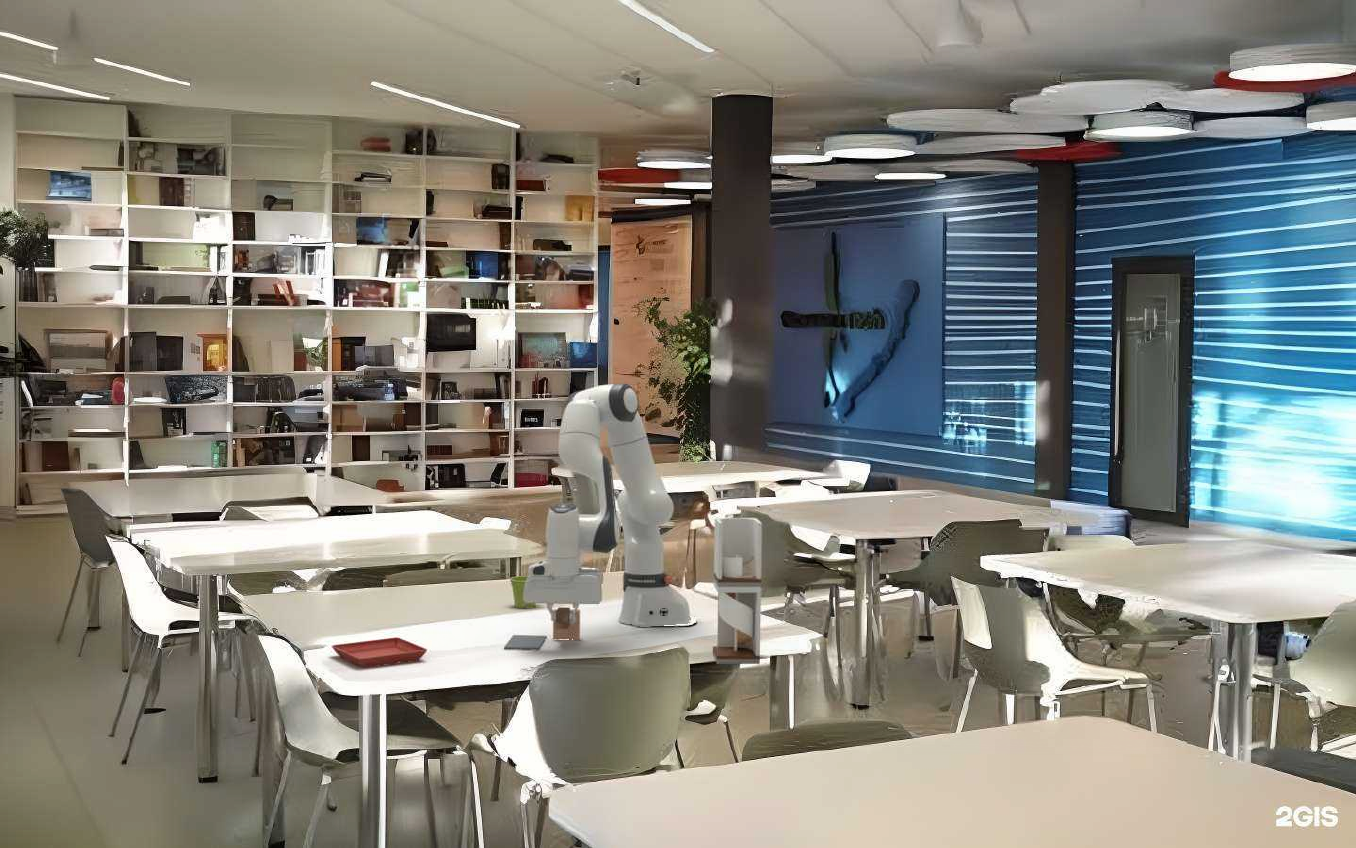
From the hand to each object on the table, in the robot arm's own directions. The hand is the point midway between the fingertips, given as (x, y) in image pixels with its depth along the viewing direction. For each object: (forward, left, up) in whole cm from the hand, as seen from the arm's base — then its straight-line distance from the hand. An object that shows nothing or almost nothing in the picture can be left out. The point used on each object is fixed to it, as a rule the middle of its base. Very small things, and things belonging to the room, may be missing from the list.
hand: (562, 620), depth 355 cm
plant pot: (+18, -60, -8) cm, 64 cm away
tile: (0, -12, -7) cm, 14 cm away
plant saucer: (+44, +16, -8) cm, 47 cm away
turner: (0, -3, -2) cm, 4 cm away
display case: (-45, +8, -8) cm, 46 cm away
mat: (+10, -6, -7) cm, 14 cm away
